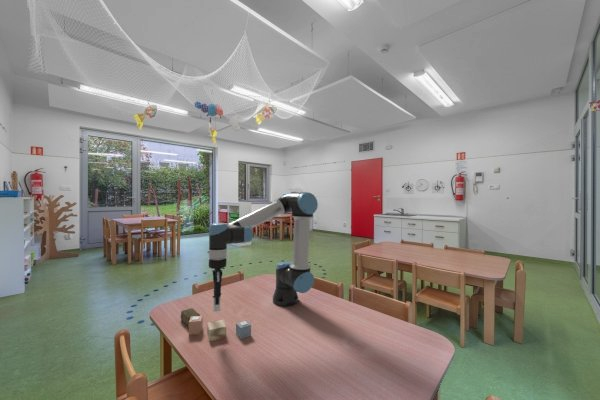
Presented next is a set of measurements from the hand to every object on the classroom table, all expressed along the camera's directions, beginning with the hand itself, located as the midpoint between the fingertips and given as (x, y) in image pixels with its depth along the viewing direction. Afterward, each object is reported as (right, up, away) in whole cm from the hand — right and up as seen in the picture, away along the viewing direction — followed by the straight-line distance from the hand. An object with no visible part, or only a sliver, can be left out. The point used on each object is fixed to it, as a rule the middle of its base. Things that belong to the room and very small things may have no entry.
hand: (216, 310), depth 113 cm
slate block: (+12, -11, +1) cm, 16 cm away
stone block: (-17, -11, +11) cm, 23 cm away
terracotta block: (-10, -11, +3) cm, 15 cm away
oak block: (0, -11, 0) cm, 11 cm away
